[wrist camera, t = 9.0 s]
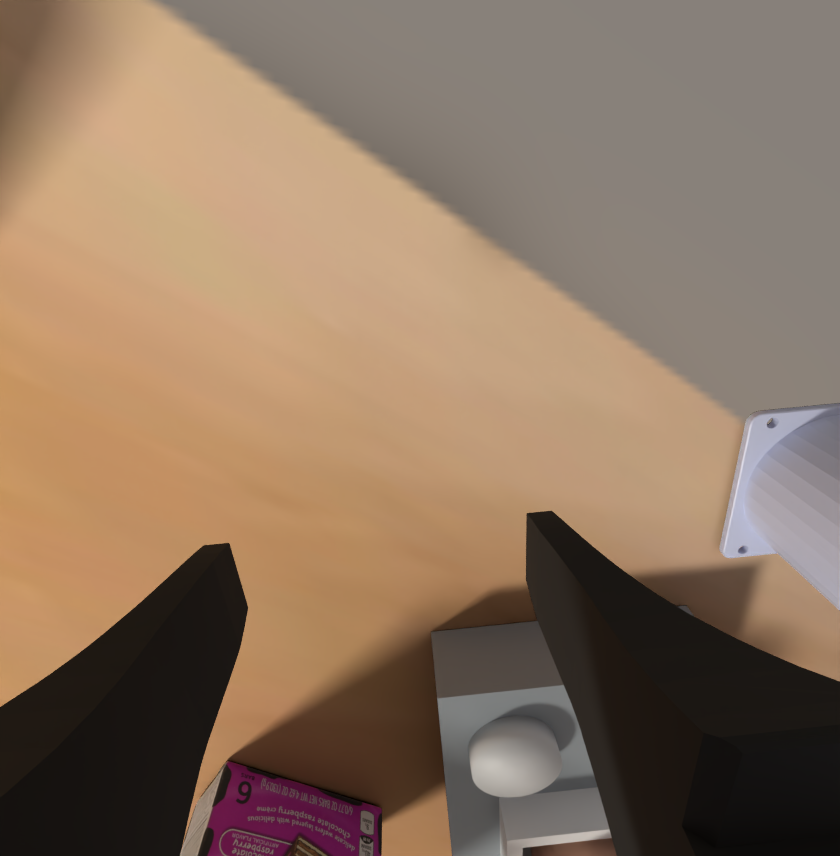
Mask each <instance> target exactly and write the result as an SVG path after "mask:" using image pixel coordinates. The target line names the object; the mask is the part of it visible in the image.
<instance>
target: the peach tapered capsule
mask: <svg viewBox="0 0 840 856" xmlns="http://www.w3.org/2000/svg"><path fill="white" fill-rule="evenodd" d="M530 848H531V853H532V856H617V855H616V851H615V848H614V844H613V840H612V838H607V839H598V840H589V841H580V842H571V843H562V844H553V845H544V846H535V847H530Z"/></svg>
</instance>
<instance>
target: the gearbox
mask: <svg viewBox="0 0 840 856" xmlns="http://www.w3.org/2000/svg"><path fill="white" fill-rule="evenodd" d="M677 607H679V608H680V609H682V610H684V611H685V612H687V613H689V614H690V615H692V616H694V615H693V614H692V612H691V611H690V610H689V608H688V607H687V606H677ZM431 639H432V649H433V660H434V670H435V681H436V691H437V702H438V712H439V723H440V733H441V744H442V754H443V765H444V775H445V785H446V796H447V806H448V817H449V827H450V838H451V848H452V856H532V853H531V848H530V847H535V846H544V845H553V844H562V843H571V842H580V841H589V840H598V839H607V838H612V837H611V833H610V829H609V826H608V822H607V818H606V815H605V811H604V808H603V804H602V801H601V797H600V794H599V790H598V787H597V783H596V780H595V777H594V773H593V770H592V766H591V763H590V760H589V756H588V753H587V750H586V746H585V743H584V740H583V737H582V733H581V730H580V727H579V723H578V721H577V718H576V715H575V712H574V710H573V707H572V704H571V702H570V699H569V697H568V694H567V692H566V689H565V687H564V684H563V682H562V680H561V677H560V675H559V672H558V670H557V667H556V665H555V663H554V660H553V658H552V655H551V653H550V650H549V648H548V645H547V643H546V640H545V638H544V635H543V633H542V631H541V628H540V626H539V623H538V621H531V622H522V623H512V624H502V625H493V626H483V627H473V628H464V629H454V630H444V631H435V632H431Z"/></svg>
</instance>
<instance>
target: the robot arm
mask: <svg viewBox="0 0 840 856" xmlns="http://www.w3.org/2000/svg"><path fill="white" fill-rule="evenodd" d="M771 418H773V419H772V421H771V422H770V423H769V424H767V422H768V421H769V420H770V419H771ZM741 546H742V547H741ZM740 547H741V548H740ZM720 552H721V553H722V554H723V555H724V556H725V557H727V558H737V557H746V556H756V555H766V554H776V553H778V554H779V555H780V556H781V557H782V558H783V559H784V560H785V561H786V562H788V563H789V564H790V565H791V566H792V567H793V568H794V569H795V570H796V571H797V572H798V573H799V574H801V575H802V576H803V577H804V578H805V579H806V580H807V581H808V582H809V583H810V584H811V585H812V586H814V587H815V588H816V589H817V590H818V591H819V592H820V593H821V594H822V595H823V596H824V597H825V598H827V599H828V600H829V601H830V602H831V603H832V604H833V605H834V606H835V607H836V608H837V609H838V610H840V403H835V404H825V405H814V406H804V407H793V408H783V409H773V410H763V411H756V412H754V413H752V414H751V415H750V416H749V417H748V418H747V420H746V423H745V428H744V432H743V437H742V442H741V447H740V452H739V456H738V461H737V466H736V471H735V476H734V480H733V485H732V490H731V495H730V500H729V504H728V509H727V514H726V519H725V524H724V528H723V533H722V538H721V543H720ZM526 581H527V585H528V589H529V593H530V597H531V600H532V604H533V607H534V611H535V615H536V618H537V620H538V623H539V626H540V628H541V631H542V633H543V635H544V638H545V640H546V643H547V645H548V648H549V650H550V653H551V655H552V658H553V660H554V663H555V665H556V667H557V670H558V672H559V675H560V677H561V680H562V682H563V684H564V687H565V689H566V692H567V694H568V697H569V699H570V702H571V704H572V707H573V710H574V712H575V715H576V718H577V721H578V723H579V727H580V730H581V733H582V737H583V740H584V743H585V746H586V750H587V753H588V756H589V760H590V763H591V766H592V770H593V773H594V777H595V780H596V783H597V787H598V790H599V794H600V797H601V801H602V804H603V808H604V811H605V815H606V818H607V822H608V826H609V829H610V833H611V837H612V840H613V844H614V848H615V851H616V855H617V856H840V682H839V681H836V680H834V679H831V678H828V677H826V676H823V675H820V674H818V673H815V672H812V671H810V670H807V669H804V668H801V667H799V666H797V665H794V664H792V663H789V662H787V661H785V660H782V659H780V658H778V657H776V656H773V655H771V654H769V653H766V652H764V651H762V650H759V649H757V648H755V647H753V646H751V645H749V644H747V643H744V642H742V641H740V640H738V639H736V638H734V637H732V636H730V635H728V634H726V633H724V632H722V631H720V630H718V629H716V628H715V627H713V626H711V625H709V624H707V623H705V622H703V621H701V620H699V619H698V618H696V617H694V616H692V615H690V614H689V613H687V612H685V611H684V610H682V609H680V608H679V607H677V606H675V605H674V604H672V603H670V602H669V601H667V600H666V599H664V598H662V597H661V596H659V595H657V594H656V593H654V592H653V591H651V590H650V589H648V588H647V587H645V586H644V585H643V584H641V583H640V582H638V581H637V580H636V579H634V578H633V577H631V576H630V575H629V574H627V573H626V572H624V571H623V570H622V569H620V568H619V567H618V566H616V565H615V564H614V563H612V562H611V561H610V560H609V559H608V558H606V557H605V556H604V555H603V554H601V553H600V552H599V551H598V550H596V549H595V548H594V547H593V546H592V545H590V544H589V543H588V542H587V541H586V540H585V539H583V538H582V537H581V536H580V535H579V534H578V533H576V532H575V531H574V530H573V529H572V528H571V527H570V526H569V525H567V524H566V523H565V522H564V521H563V520H562V519H561V518H559V517H558V516H557V515H556V514H555V513H554V512H552V511H545V512H535V513H527V532H526ZM247 611H248V606H247V602H246V599H245V595H244V592H243V589H242V585H241V582H240V578H239V575H238V571H237V568H236V565H235V561H234V558H233V554H232V551H231V548H230V544H229V543H224V544H214V545H204V546H203V547H201V548H200V549H199V550H198V551H197V552H195V553H194V554H193V555H192V556H191V557H190V558H189V559H188V560H186V561H185V562H184V563H183V564H182V565H181V566H180V567H179V568H178V569H177V570H176V571H175V572H173V573H172V574H171V575H170V576H169V577H168V578H167V579H166V580H165V581H164V582H163V583H162V584H160V585H159V586H158V587H157V588H156V589H155V590H154V591H153V592H152V593H151V594H149V595H148V596H147V597H146V598H145V599H144V600H143V601H142V602H141V603H139V604H138V605H137V606H136V607H135V608H134V609H133V610H131V611H130V612H129V613H128V614H127V615H125V616H124V617H123V618H122V619H121V620H119V621H118V622H117V623H116V624H115V625H114V626H112V627H111V628H110V629H109V630H108V631H106V632H105V633H104V634H103V635H102V636H100V637H99V638H98V639H97V640H95V641H94V642H93V643H92V644H90V645H89V646H88V647H87V648H85V649H84V650H83V651H81V652H80V653H79V654H77V655H76V656H75V657H73V658H72V659H71V660H69V661H68V662H66V663H65V664H64V665H62V666H61V667H60V668H58V669H57V670H55V671H54V672H53V673H51V674H50V675H48V676H47V677H45V678H44V679H43V680H41V681H40V682H38V683H37V684H35V685H33V686H32V687H30V688H29V689H27V690H26V691H24V692H23V693H21V694H20V695H18V696H17V697H15V698H13V699H12V700H10V701H9V702H7V703H6V704H4V705H3V706H1V707H0V856H180V853H181V849H182V844H183V840H184V835H185V830H186V826H187V821H188V817H189V812H190V808H191V804H192V800H193V796H194V792H195V787H196V783H197V779H198V775H199V771H200V767H201V763H202V760H203V756H204V753H205V750H206V746H207V743H208V740H209V737H210V734H211V731H212V729H213V726H214V723H215V720H216V717H217V714H218V711H219V708H220V706H221V703H222V700H223V697H224V694H225V691H226V688H227V685H228V682H229V680H230V677H231V674H232V671H233V668H234V665H235V662H236V659H237V656H238V653H239V650H240V646H241V641H242V637H243V632H244V627H245V622H246V616H247Z"/></svg>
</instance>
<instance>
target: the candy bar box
mask: <svg viewBox="0 0 840 856" xmlns="http://www.w3.org/2000/svg"><path fill="white" fill-rule="evenodd" d="M381 848H382V809H381V808H380V807H377V806H373V805H370V804H367V803H363V802H360V801H357V800H353V799H350V798H347V797H344V796H340V795H337V794H334V793H331V792H327V791H324V790H321V789H317V788H314V787H311V786H308V785H304V784H301V783H298V782H294V781H291V780H288V779H284V778H281V777H278V776H275V775H272V774H269V773H265V772H262V771H259V770H256V769H253V768H249V767H246V766H243V765H240V764H236V763H233V762H230V761H227V762H226V763H225V764H224V765H223V767H222V768H221V769H220V771H219V773H218V775H217V776H216V778H215V779H214V781H213V782H212V783H211V784H210V786H209V787H208V788H207V789H206V791H205V792H204V793H203V795H202V797H201V798H200V799H199V800H198V802H197V804H196V806H195V809H194V812H193V815H192V818H191V821H190V824H189V827H188V830H187V834H186V837H185V840H184V843H183V848H182V851H181V854H180V856H381Z"/></svg>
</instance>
